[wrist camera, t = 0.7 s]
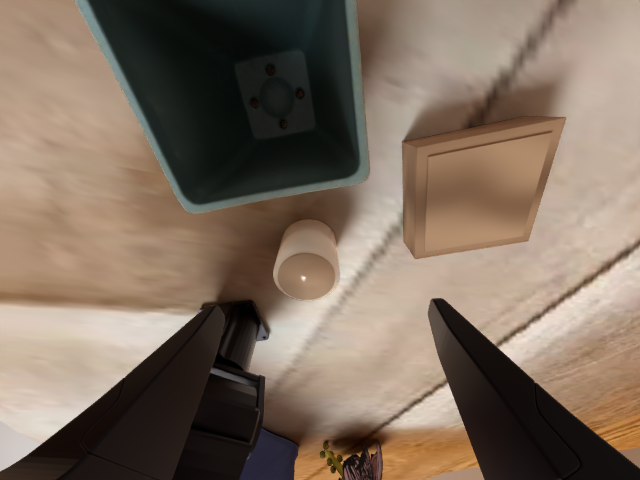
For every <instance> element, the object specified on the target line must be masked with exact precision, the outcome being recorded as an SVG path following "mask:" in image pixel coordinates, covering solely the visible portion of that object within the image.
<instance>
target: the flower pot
mask: <svg viewBox="0 0 640 480" xmlns="http://www.w3.org/2000/svg"><path fill="white" fill-rule="evenodd" d="M74 1H75V3H76V5H77V7H78V9H79V11H80V12H81V14H82V16H83V18H84V20H85V22H86V24H87V26H88V27H89V29H90V31H91V33H92V35H93V37H94V39H95V40H96V42H97V44H98V46H99V48H100V50H101V52H102V53H103V55H104V57H105V59H106V61H107V63H108V64H109V67H110V69H111V70H112V72H113V74H114V77H115V78H116V80H117V81H118V83H119V85H120V88H121V90H122V91H123V94H124V95H125V97H126V99H127V101H128V103H129V105H130V107H131V109H132V110H133V112H134V114H135V116H136V118H137V120H138V122H139V124H140V126H141V128H142V130H143V133H144V135H145V136H146V138H147V140H148V142H149V144H150V146H151V148H152V151H153V152H154V155H155V157H156V159H157V160H158V162H159V164H160V166H161V168H162V170H163V172H164V174H165V176H166V178H167V180H168V182H169V184H170V186H171V188H172V190H173V192H174V194H175V196H176V198H177V200H178V201H179V202H180V204H181V205H182V207H183V208H184V209H185V210H186V211H187V212H188V213H191V214H196V213H203V212H204V213H205V212H209V211H213V210H219V209H223V208H229V207H234V206H238V205H244V204H248V203H253V202H258V201H264V200H270V199H275V198H281V197H286V196H292V195H298V194H304V193H309V192H315V191H320V190H326V189H333V188H339V187H348V186H352V185H356V184H359V183H362V182H363V181H365V180H366V179H367V178H368V176H369V173H370V162H369V150H368V139H367V128H366V115H365V106H364V93H363V80H362V63H361V53H360V40H359V27H358V13H357V0H74ZM269 66H272V67H274V69H275V73H274V75H269V74H268V73H267V68H268V67H269ZM299 89H300V90H302V91H303V92H304V96H303V97H302V98H298V97H297V91H298V90H299ZM253 99H256V100H258V102H259V106H258V107H257V108H254V107H253V106H252V103H251V102H252V100H253ZM282 120H285V121H286V122H287V126H286V128H282V127H281V126H280V121H282Z"/></svg>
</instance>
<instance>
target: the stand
mask: <svg viewBox="0 0 640 480" xmlns="http://www.w3.org/2000/svg"><path fill="white" fill-rule="evenodd" d="M565 120H566V117H538V116H526V117H521V118H516V119H511V120H507V121H502V122H497V123H492V124H487V125H482V126H478V127H473V128H468V129H463V130H458V131H453V132H449V133H444V134H439V135H434V136H429V137H424V138H420V139H415V140H410V141H405V142H402V159H403V235H404V243H405V244H406V246H407V247H408V249H409V250H410V252H411V254H412V255H413V257H414V258H415V259H419V258H425V257H432V256H438V255H444V254H451V253H457V252H463V251H470V250H476V249H482V248H489V247H495V246H501V245H508V244H514V243H520V242H526V241H528V240H529V237H530V234H531V231H532V227H533V224H534V221H535V218H536V214H537V211H538V208H539V205H540V201H541V198H542V195H543V192H544V189H545V185H546V182H547V179H548V176H549V172H550V169H551V166H552V163H553V159H554V156H555V153H556V150H557V146H558V143H559V140H560V137H561V133H562V130H563V127H564V124H565Z"/></svg>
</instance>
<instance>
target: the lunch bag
mask: <svg viewBox="0 0 640 480" xmlns="http://www.w3.org/2000/svg"><path fill="white" fill-rule="evenodd" d="M297 456H298V447H297V445H296V444H294V443H293V442H291V441H289V440H287V439H284V438H282V437H279V436H276V435H274V434H272V433H270V432H268V431H266V430H264V429H262V428H261V431H260V435H259V438H258V441H257V444H256V446H255V448H254V450H253V452H252V454H251V456H250V457H249V458H248V459H247V460H246V462H245V465H244V468H243V470H242V473H241V476H240V479H239V480H294V464H295V460H296V458H297Z"/></svg>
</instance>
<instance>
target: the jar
mask: <svg viewBox="0 0 640 480" xmlns="http://www.w3.org/2000/svg"><path fill="white" fill-rule="evenodd" d="M273 278H274V282H275V284H276V285H277V287H278V288H279V289H280V291H282V292H283V293H284V294H285V295H287V296H289V297H291V298H294V299H297V300H302V301H313V300H318V299H321V298H324V297H326V296H327V295H329V294H330V293H332V292H333V291H334V289H335V288H336V287H337V285H338V283H339V279H340V270H339V262H338V255H337V247H336V239H335V236H334V233H333V232H332V230H331V229H330V228H329V227H328V226H327V225H326V224H324V223H322V222H320V221H317V220H312V219H304V220H300V221H297V222H295V223H293V224H292V225H290V226H289V227H288V228H287V229H286V231H285V232H284V235H283V238H282V241H281V245H280V248H279V252H278V255H277V259H276V262H275V266H274V270H273Z"/></svg>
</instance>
